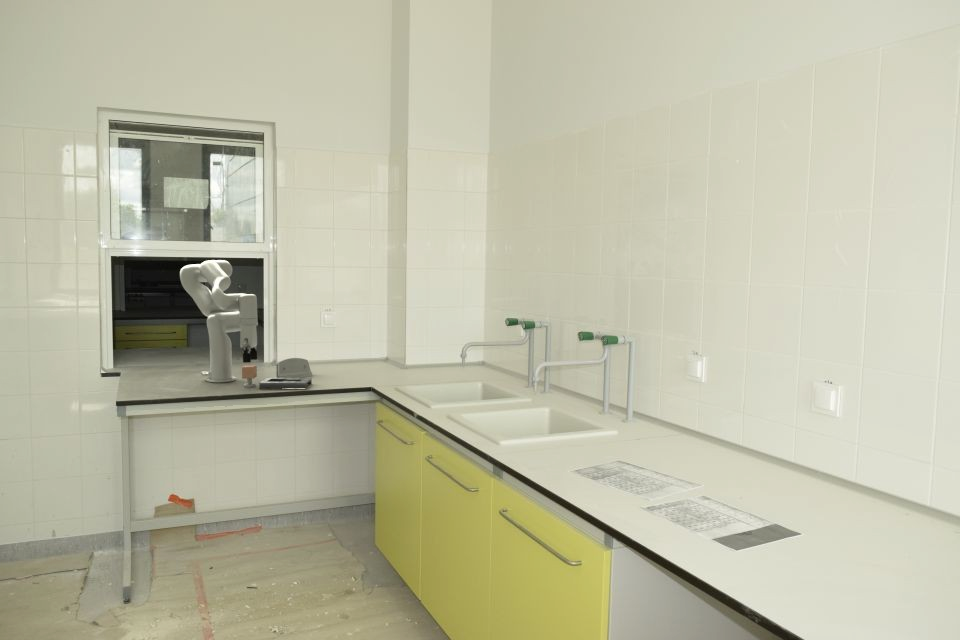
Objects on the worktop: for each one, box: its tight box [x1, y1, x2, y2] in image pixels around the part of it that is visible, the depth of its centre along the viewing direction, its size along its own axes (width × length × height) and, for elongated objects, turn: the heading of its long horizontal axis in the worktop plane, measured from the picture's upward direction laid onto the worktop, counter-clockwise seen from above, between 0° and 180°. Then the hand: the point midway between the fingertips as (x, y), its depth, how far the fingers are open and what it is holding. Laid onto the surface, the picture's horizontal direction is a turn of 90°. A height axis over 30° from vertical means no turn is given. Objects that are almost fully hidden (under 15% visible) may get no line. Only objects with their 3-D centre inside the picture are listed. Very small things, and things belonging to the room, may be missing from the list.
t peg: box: [241, 364, 258, 388], centre depth 320 cm, size 5×5×9 cm
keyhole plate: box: [258, 377, 313, 390], centre depth 320 cm, size 20×13×3 cm, turn 92°
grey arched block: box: [275, 357, 313, 378], centre depth 346 cm, size 17×5×10 cm, turn 127°
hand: (250, 360), depth 319 cm, fingers open, 9 cm apart
